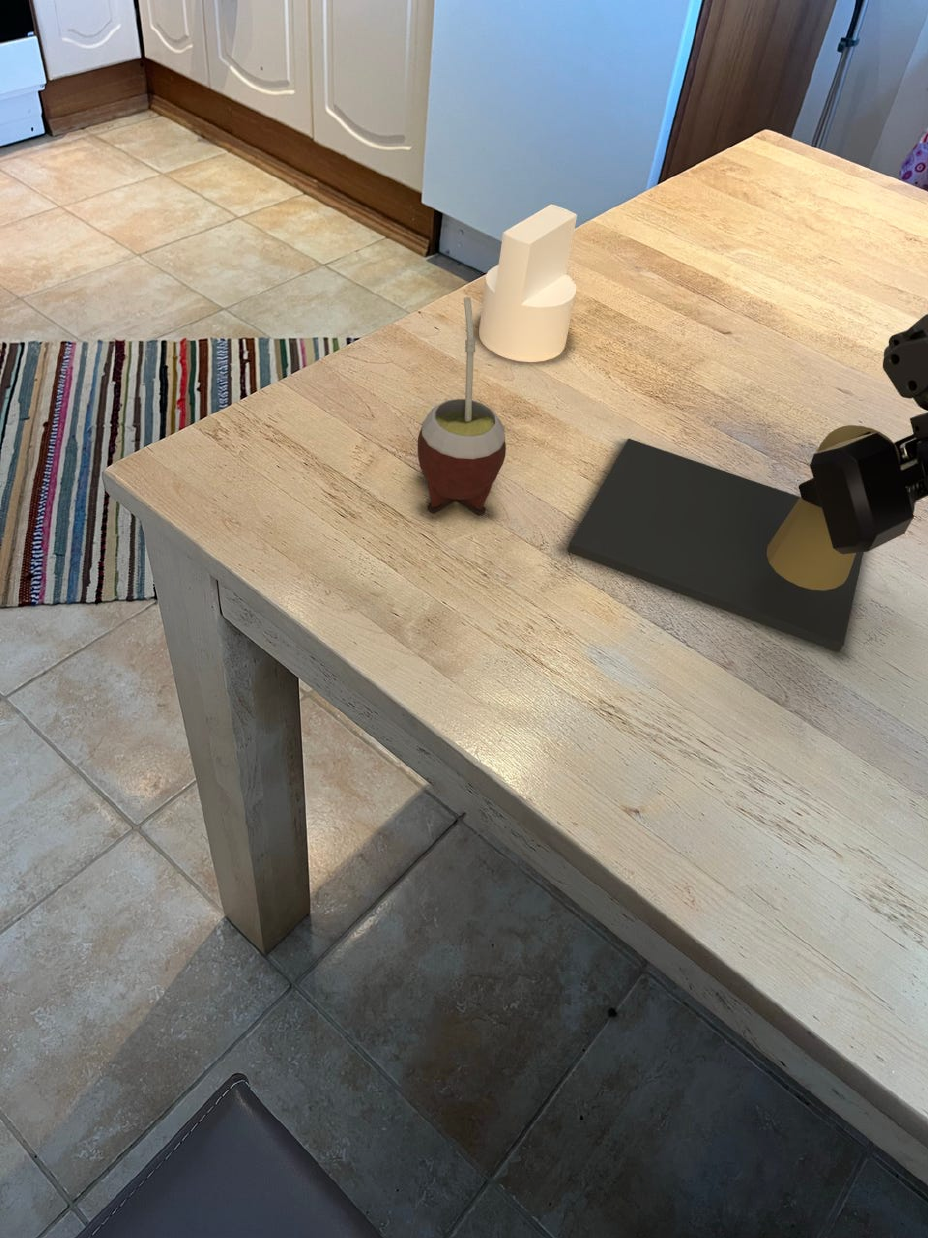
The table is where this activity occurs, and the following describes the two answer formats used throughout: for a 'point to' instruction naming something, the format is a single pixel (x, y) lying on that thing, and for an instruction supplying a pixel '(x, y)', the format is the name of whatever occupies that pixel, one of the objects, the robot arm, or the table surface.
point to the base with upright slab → (531, 289)
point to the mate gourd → (461, 444)
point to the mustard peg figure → (813, 536)
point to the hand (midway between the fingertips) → (827, 480)
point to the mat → (707, 542)
